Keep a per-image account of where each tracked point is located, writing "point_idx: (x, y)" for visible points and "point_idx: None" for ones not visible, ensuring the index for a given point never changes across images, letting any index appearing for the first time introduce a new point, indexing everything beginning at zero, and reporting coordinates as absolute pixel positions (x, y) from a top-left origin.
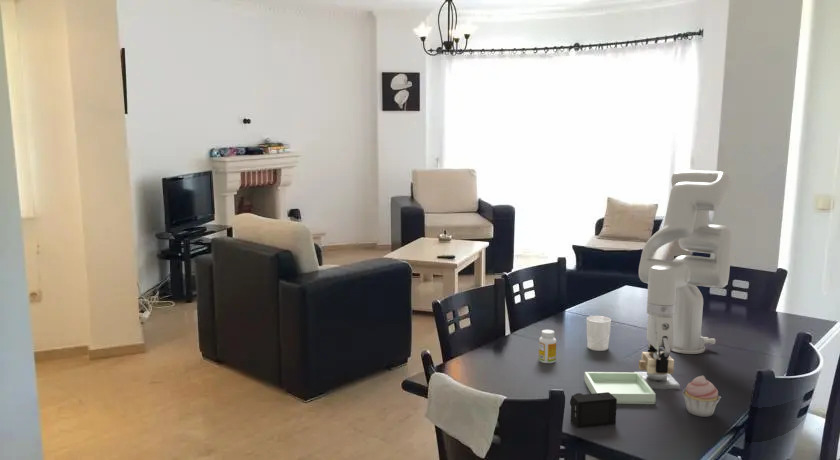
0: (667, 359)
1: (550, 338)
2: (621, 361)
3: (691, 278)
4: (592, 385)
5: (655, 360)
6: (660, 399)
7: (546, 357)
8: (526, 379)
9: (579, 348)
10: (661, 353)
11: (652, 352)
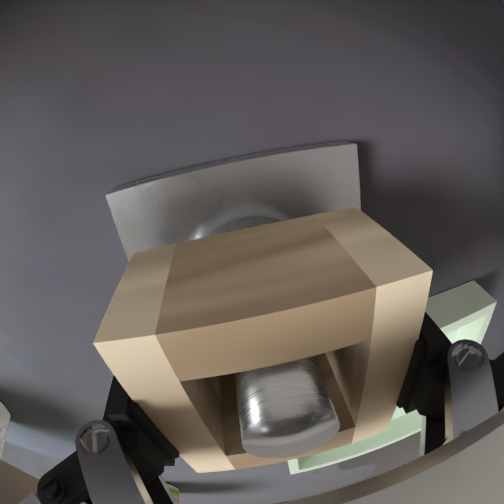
0: (475, 351)
1: None
2: (37, 372)
3: None
4: (392, 442)
5: (396, 405)
6: (449, 259)
7: (178, 501)
8: (289, 491)
9: (25, 434)
10: (292, 420)
11: (182, 438)
